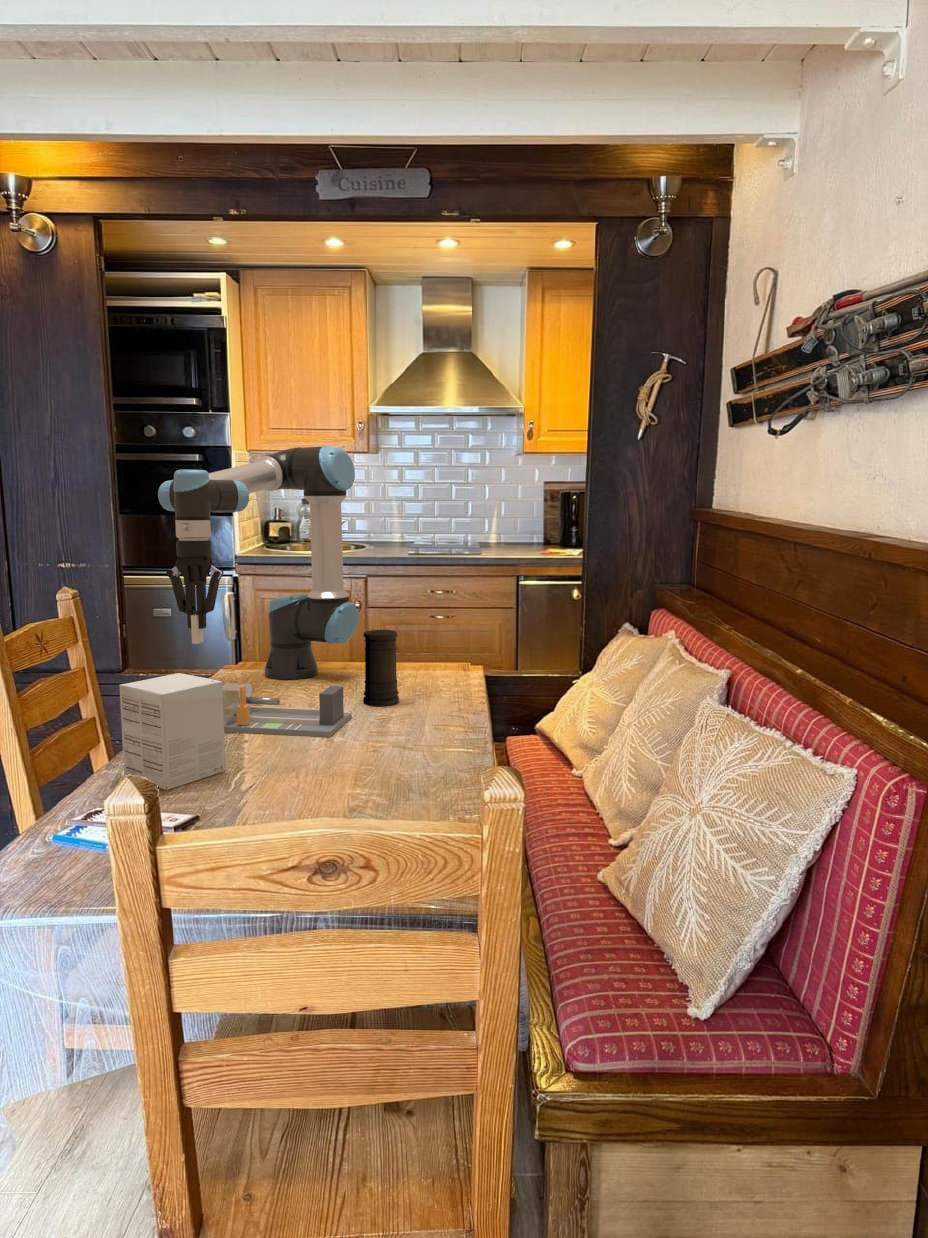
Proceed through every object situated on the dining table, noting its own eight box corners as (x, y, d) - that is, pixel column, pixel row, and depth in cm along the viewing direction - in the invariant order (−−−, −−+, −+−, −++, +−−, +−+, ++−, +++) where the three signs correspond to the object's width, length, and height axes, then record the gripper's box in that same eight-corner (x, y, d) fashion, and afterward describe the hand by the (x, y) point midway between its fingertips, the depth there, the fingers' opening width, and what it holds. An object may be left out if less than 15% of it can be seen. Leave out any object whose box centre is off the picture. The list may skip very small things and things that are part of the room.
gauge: (227, 710, 196) (226, 683, 195) (284, 712, 194) (284, 685, 193) (205, 723, 185) (204, 694, 184) (265, 726, 183) (264, 697, 182)
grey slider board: (222, 712, 200) (221, 678, 199) (351, 718, 195) (351, 683, 194) (191, 730, 185) (189, 694, 183) (330, 737, 180) (329, 700, 179)
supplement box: (183, 758, 165) (179, 671, 162) (227, 771, 157) (223, 680, 155) (122, 776, 154) (117, 684, 151) (166, 791, 147) (161, 694, 144)
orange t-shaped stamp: (241, 722, 186) (240, 685, 185) (250, 722, 186) (249, 685, 184) (237, 724, 184) (235, 687, 182) (245, 725, 183) (244, 687, 182)
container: (401, 698, 215) (401, 629, 212) (395, 707, 206) (395, 635, 203) (367, 697, 216) (366, 628, 213) (359, 706, 207) (358, 634, 204)
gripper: (158, 539, 185) (162, 644, 188) (213, 540, 183) (217, 646, 186) (174, 538, 192) (179, 639, 196) (228, 538, 190) (231, 640, 194)
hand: (197, 642), depth 191 cm, fingers closed
